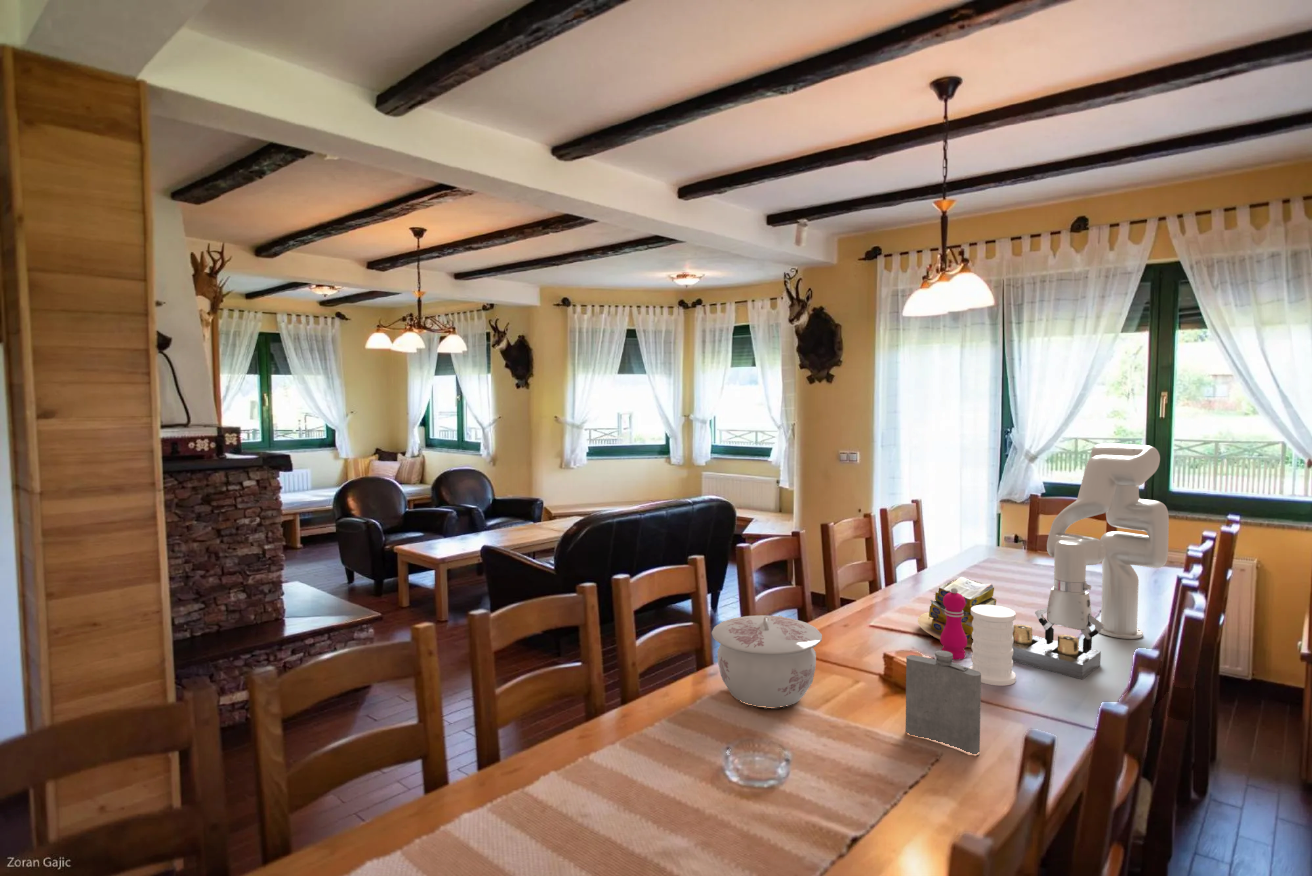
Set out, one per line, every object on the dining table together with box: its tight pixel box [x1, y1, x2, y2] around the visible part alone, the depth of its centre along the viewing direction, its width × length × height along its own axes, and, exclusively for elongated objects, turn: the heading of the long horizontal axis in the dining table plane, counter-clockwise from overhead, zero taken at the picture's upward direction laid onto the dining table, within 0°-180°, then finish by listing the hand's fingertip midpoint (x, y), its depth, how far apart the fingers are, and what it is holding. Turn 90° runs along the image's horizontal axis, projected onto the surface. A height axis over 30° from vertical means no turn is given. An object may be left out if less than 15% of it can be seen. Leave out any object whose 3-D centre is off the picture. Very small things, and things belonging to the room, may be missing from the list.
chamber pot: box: [711, 614, 823, 707], centre depth 181 cm, size 28×28×21 cm
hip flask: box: [905, 650, 982, 754], centre depth 157 cm, size 16×4×20 cm, turn 47°
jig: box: [1012, 623, 1102, 681], centre depth 203 cm, size 14×24×8 cm, turn 41°
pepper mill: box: [939, 588, 967, 661], centre depth 207 cm, size 7×7×20 cm
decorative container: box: [968, 604, 1017, 687], centre depth 192 cm, size 12×12×18 cm
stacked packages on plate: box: [917, 576, 997, 649], centre depth 225 cm, size 25×25×17 cm
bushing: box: [1057, 634, 1080, 658], centre depth 198 cm, size 5×5×8 cm
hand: (1067, 647), depth 198 cm, fingers open, 8 cm apart
